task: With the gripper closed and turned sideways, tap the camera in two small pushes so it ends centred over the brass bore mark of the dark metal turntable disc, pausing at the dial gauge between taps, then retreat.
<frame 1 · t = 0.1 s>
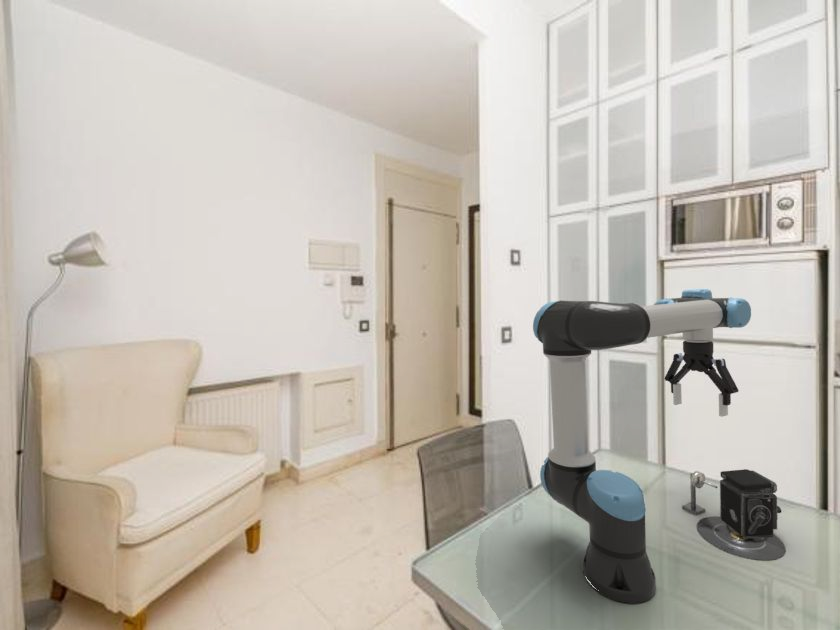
hand: (699, 409, 120), 28 cm above the table, fingers open, 13 cm apart
camera: (750, 531, 105), resting on turntable
dial gauge: (693, 510, 116), on the table
turntable: (738, 536, 103), on the table
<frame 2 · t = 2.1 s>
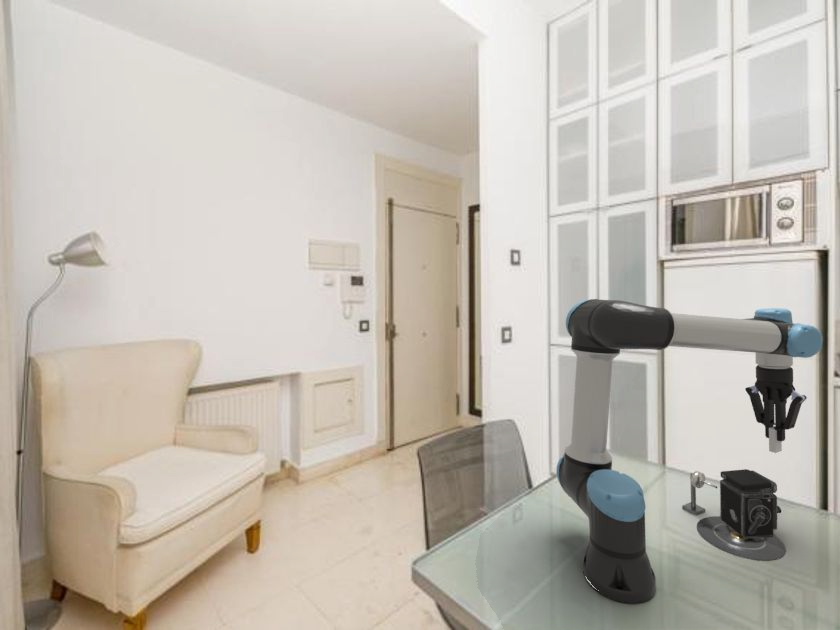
hand: (775, 450, 108), 20 cm above the table, fingers closed
nothing on the table moved.
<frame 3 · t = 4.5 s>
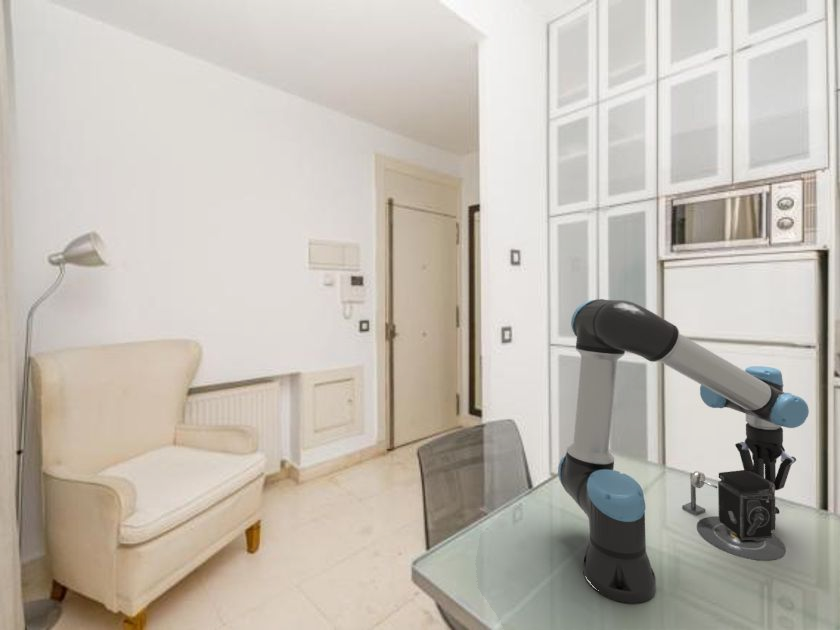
hand: (764, 509, 107), 4 cm above the table, fingers closed
camera: (748, 532, 105), resting on turntable, touching gripper
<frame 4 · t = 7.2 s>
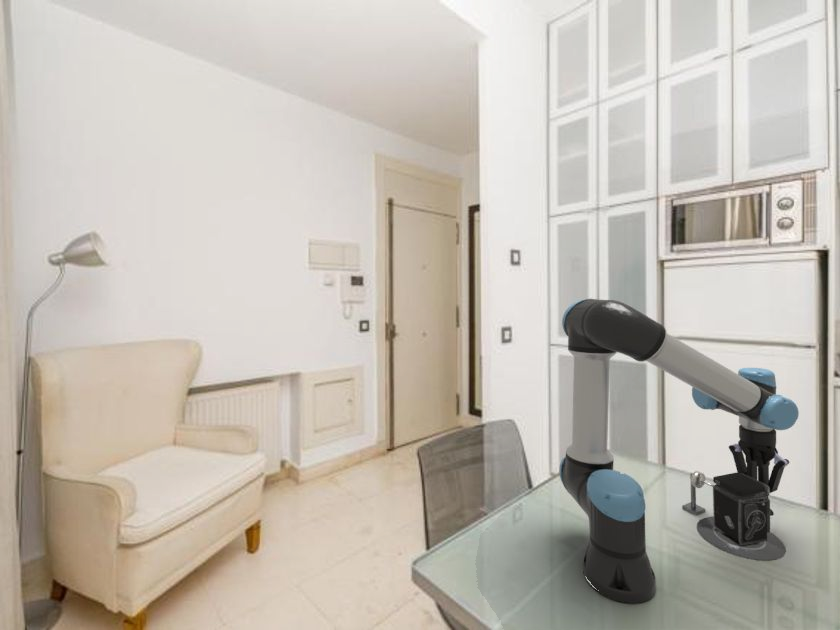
hand: (758, 512, 106), 4 cm above the table, fingers closed
camera: (743, 535, 104), resting on turntable, touching gripper
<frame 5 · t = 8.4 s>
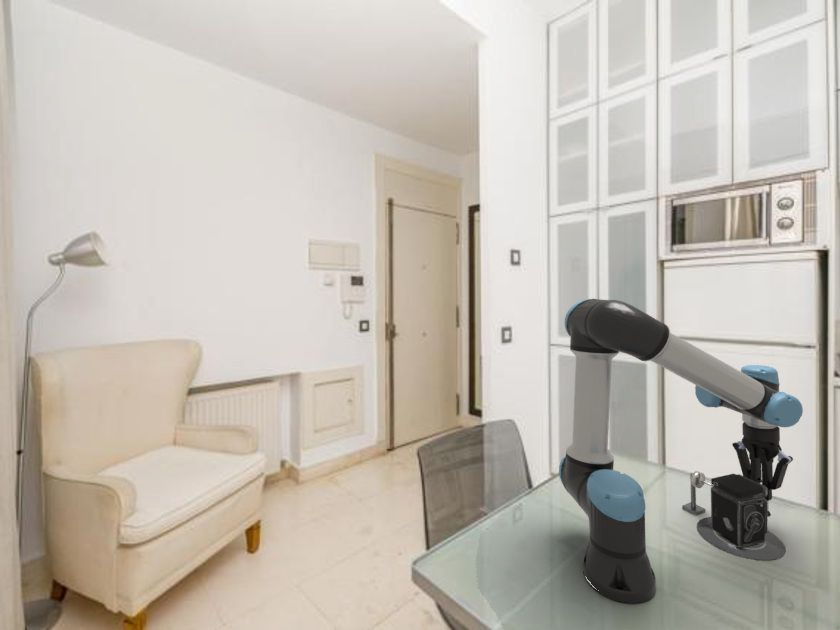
hand: (762, 509, 107), 5 cm above the table, fingers closed
camera: (741, 537, 103), resting on turntable
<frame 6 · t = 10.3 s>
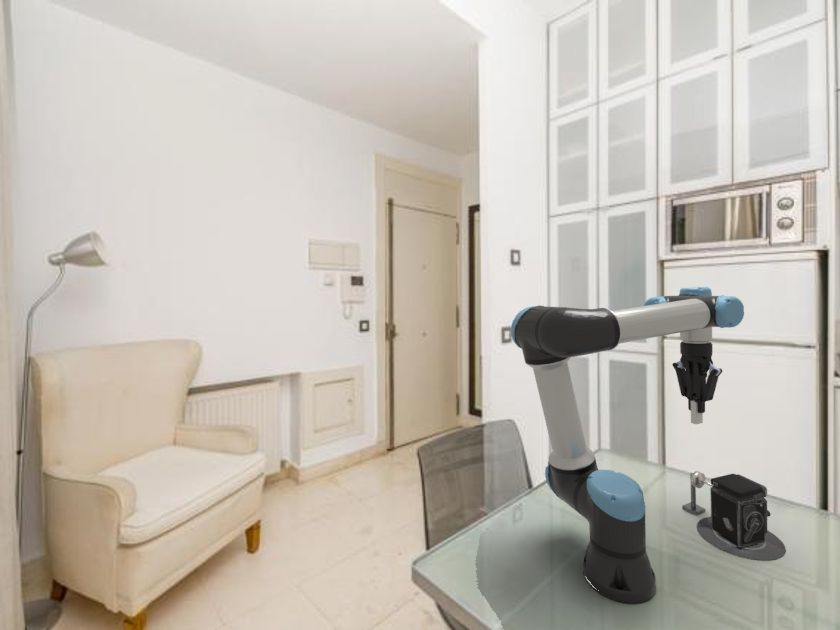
hand: (696, 422, 114), 27 cm above the table, fingers closed
nothing on the table moved.
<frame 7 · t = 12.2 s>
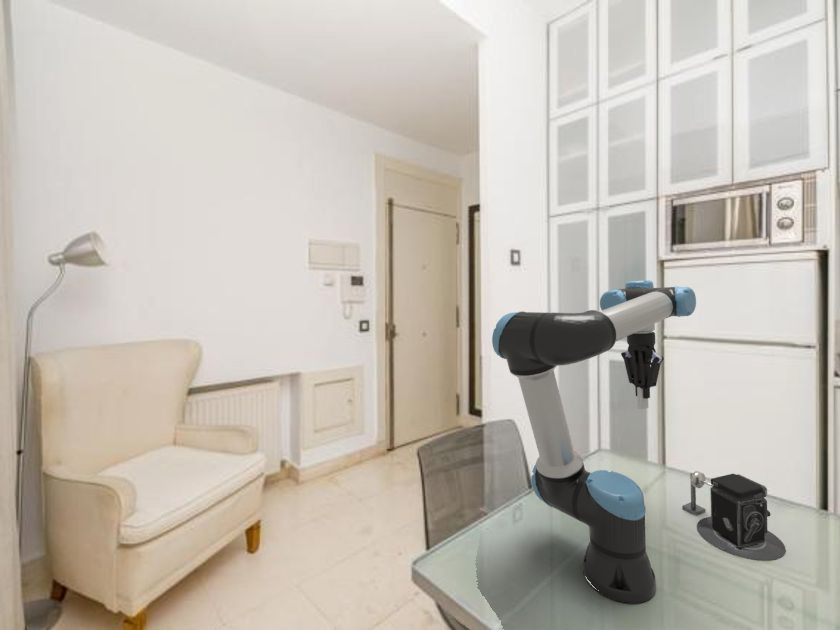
hand: (643, 407, 121), 29 cm above the table, fingers closed
nothing on the table moved.
at the end: camera 0.5 cm from the turntable (horizontally); camera tilted 0° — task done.
